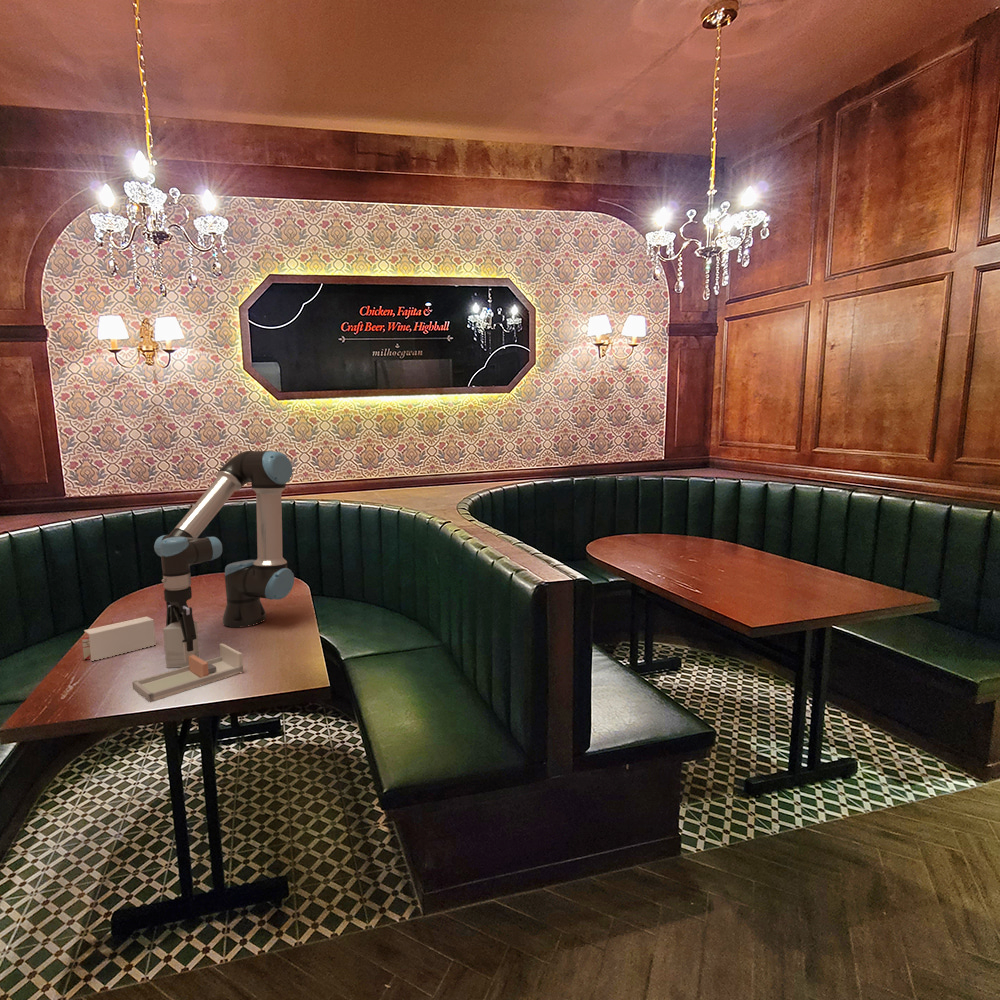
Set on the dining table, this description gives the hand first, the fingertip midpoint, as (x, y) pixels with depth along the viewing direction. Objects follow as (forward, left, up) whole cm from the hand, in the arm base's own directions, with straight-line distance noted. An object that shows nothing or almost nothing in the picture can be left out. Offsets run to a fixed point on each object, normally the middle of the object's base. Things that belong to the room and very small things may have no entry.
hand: (182, 656), depth 193 cm
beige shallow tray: (+4, +15, -2) cm, 16 cm away
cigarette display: (+10, -26, -3) cm, 28 cm away
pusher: (0, +15, -1) cm, 15 cm away
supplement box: (0, 0, -2) cm, 2 cm away
